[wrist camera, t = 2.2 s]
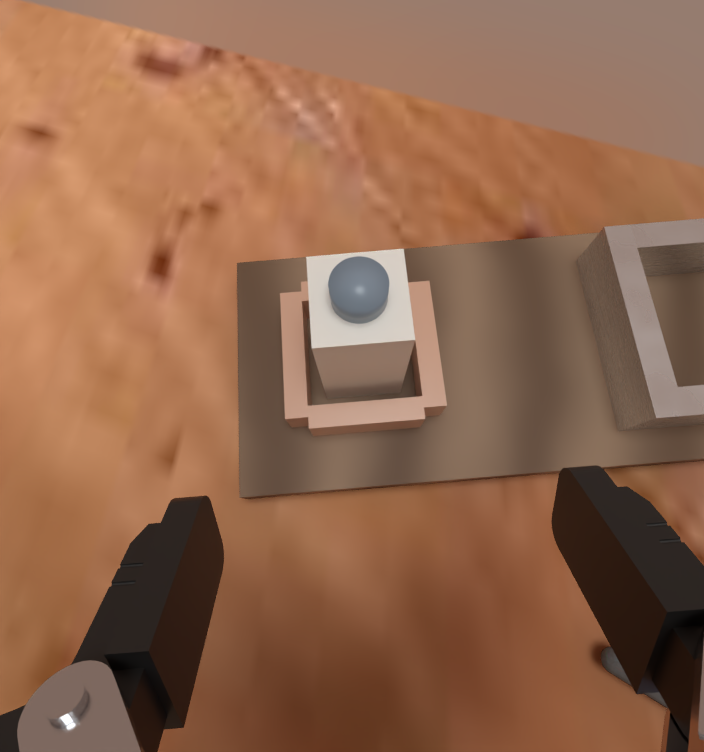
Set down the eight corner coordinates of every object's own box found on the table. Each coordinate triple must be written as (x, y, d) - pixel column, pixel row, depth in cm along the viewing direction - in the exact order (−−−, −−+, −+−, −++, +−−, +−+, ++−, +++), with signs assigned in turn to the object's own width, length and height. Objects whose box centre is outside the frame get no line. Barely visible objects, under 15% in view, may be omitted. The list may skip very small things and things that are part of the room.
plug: (327, 398, 23) (308, 337, 15) (322, 331, 24) (302, 241, 16) (400, 392, 23) (418, 328, 15) (392, 325, 24) (405, 232, 16)
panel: (247, 498, 23) (239, 497, 21) (244, 276, 26) (237, 262, 25) (825, 450, 23) (856, 445, 21) (745, 234, 26) (767, 218, 25)
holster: (292, 438, 22) (285, 430, 20) (286, 302, 24) (279, 283, 22) (441, 425, 22) (448, 416, 20) (423, 290, 24) (428, 271, 22)
